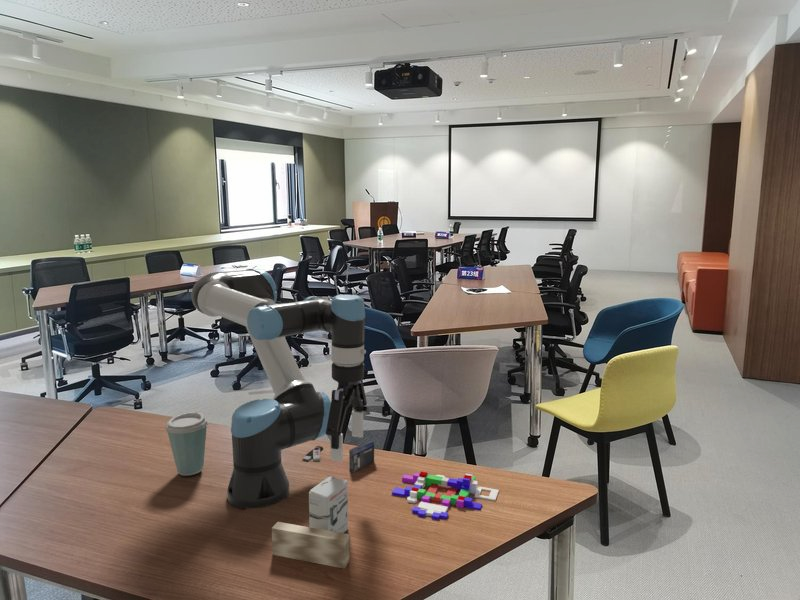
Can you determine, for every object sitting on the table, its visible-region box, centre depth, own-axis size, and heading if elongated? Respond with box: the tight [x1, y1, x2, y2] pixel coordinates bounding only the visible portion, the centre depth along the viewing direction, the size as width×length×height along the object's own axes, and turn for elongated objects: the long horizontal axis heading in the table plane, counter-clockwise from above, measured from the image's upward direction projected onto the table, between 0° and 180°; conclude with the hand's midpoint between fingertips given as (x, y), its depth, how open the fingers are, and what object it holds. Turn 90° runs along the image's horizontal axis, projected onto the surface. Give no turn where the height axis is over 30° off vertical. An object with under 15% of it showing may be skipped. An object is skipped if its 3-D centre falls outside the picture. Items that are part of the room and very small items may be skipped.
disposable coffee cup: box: [165, 411, 208, 476], centre depth 153 cm, size 11×11×15 cm
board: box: [271, 521, 350, 569], centre depth 116 cm, size 16×2×6 cm, turn 74°
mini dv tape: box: [348, 440, 375, 473], centre depth 157 cm, size 8×2×6 cm, turn 139°
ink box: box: [308, 476, 349, 533], centre depth 123 cm, size 9×5×12 cm, turn 154°
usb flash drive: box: [302, 445, 324, 462], centre depth 164 cm, size 9×5×1 cm, turn 159°
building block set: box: [391, 471, 500, 521], centre depth 141 cm, size 25×20×4 cm
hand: (347, 448), depth 135 cm, fingers open, 13 cm apart
